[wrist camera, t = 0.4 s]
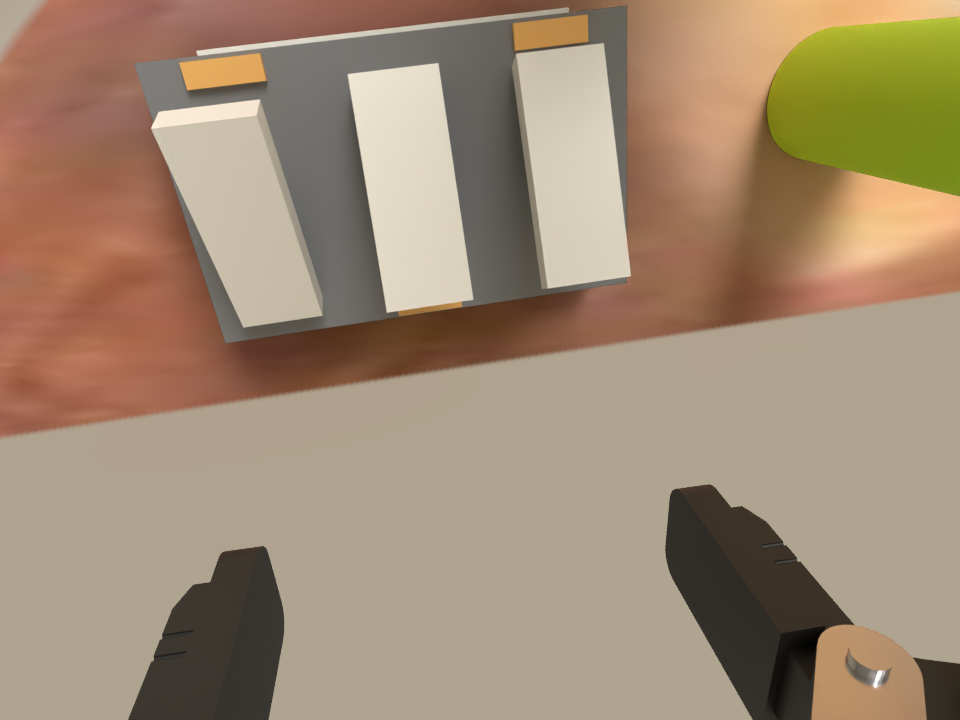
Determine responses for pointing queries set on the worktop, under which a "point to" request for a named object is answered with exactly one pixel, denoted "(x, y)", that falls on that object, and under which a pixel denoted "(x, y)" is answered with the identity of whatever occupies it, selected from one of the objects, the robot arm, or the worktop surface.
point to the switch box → (337, 158)
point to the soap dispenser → (874, 101)
